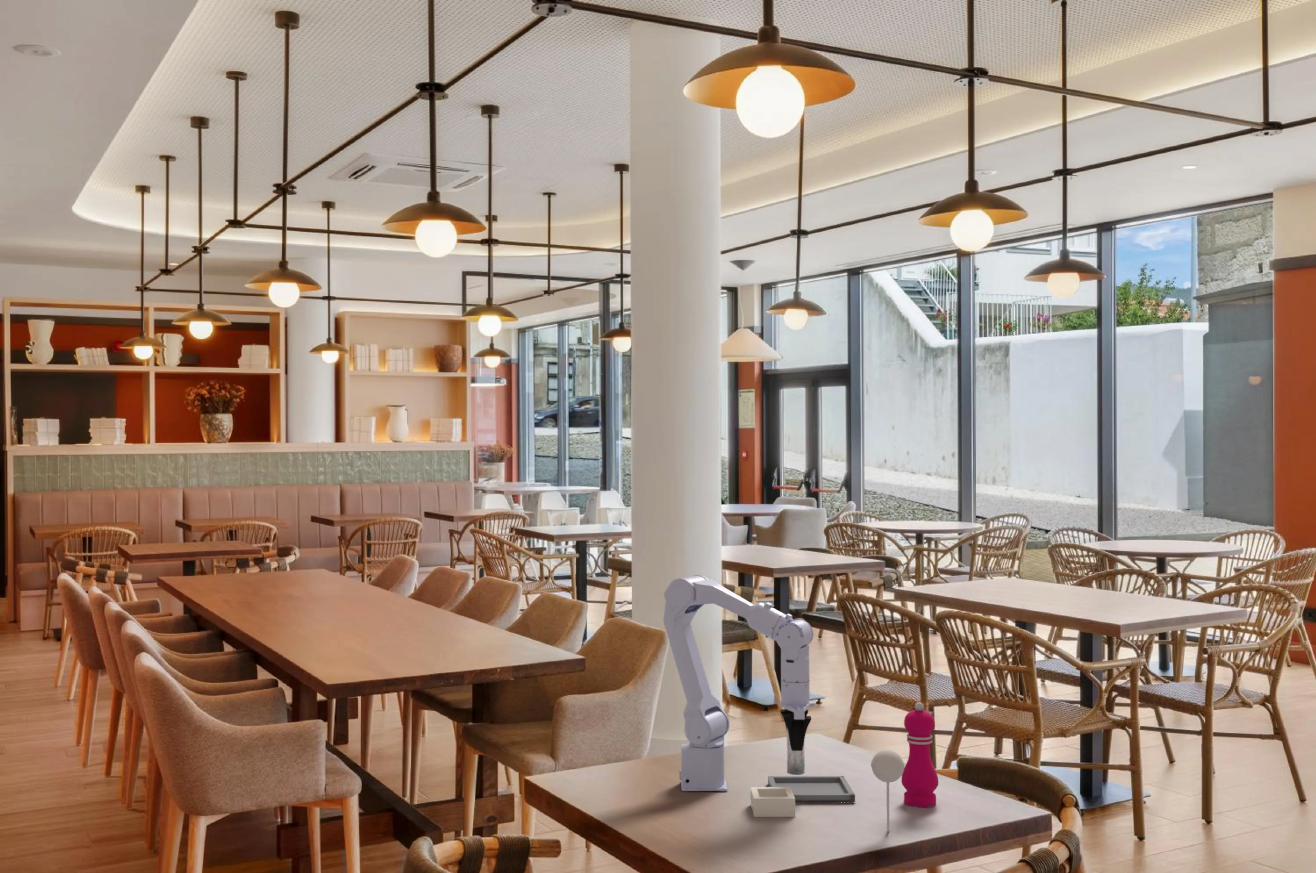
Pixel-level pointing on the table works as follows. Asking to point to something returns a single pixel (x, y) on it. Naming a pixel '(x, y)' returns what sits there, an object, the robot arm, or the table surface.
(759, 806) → the white hollow block
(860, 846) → the table surface
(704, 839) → the table surface
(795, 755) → the steel pin
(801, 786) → the tray
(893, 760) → the lollipop
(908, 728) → the pepper mill
